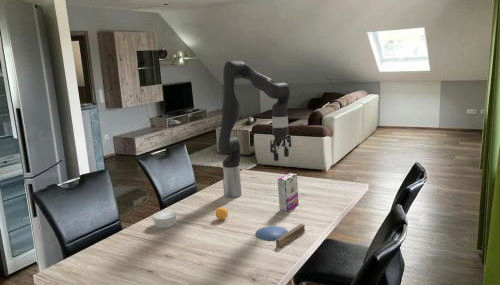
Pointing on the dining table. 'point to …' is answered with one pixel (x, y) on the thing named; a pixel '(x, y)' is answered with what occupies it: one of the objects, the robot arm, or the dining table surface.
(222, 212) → the ball
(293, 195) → the candy bar box
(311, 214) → the dining table surface
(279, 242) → the wooden stick
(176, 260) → the dining table surface
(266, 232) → the blue disc
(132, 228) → the dining table surface
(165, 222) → the ramekin
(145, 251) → the dining table surface
